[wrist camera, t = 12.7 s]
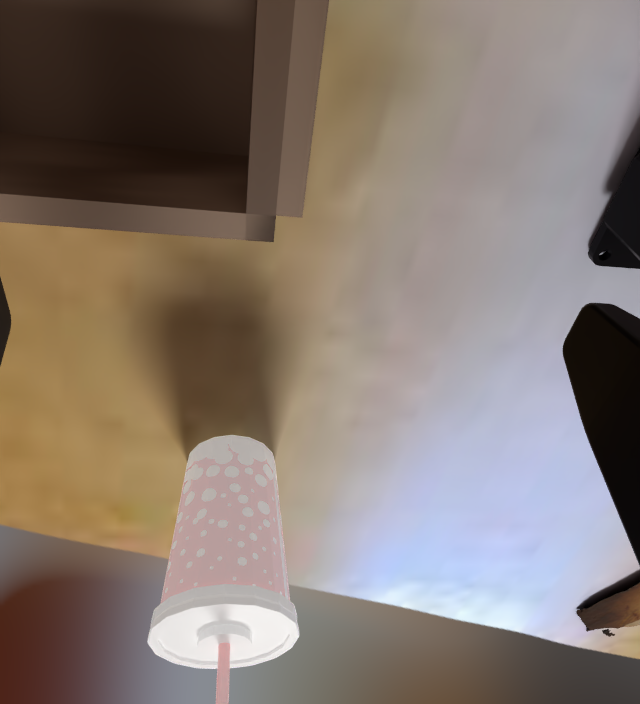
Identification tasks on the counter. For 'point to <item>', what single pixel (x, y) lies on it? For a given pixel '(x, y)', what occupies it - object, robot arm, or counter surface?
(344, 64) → the counter surface
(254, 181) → the box
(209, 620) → the beverage cup
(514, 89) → the counter surface
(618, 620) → the parchment
